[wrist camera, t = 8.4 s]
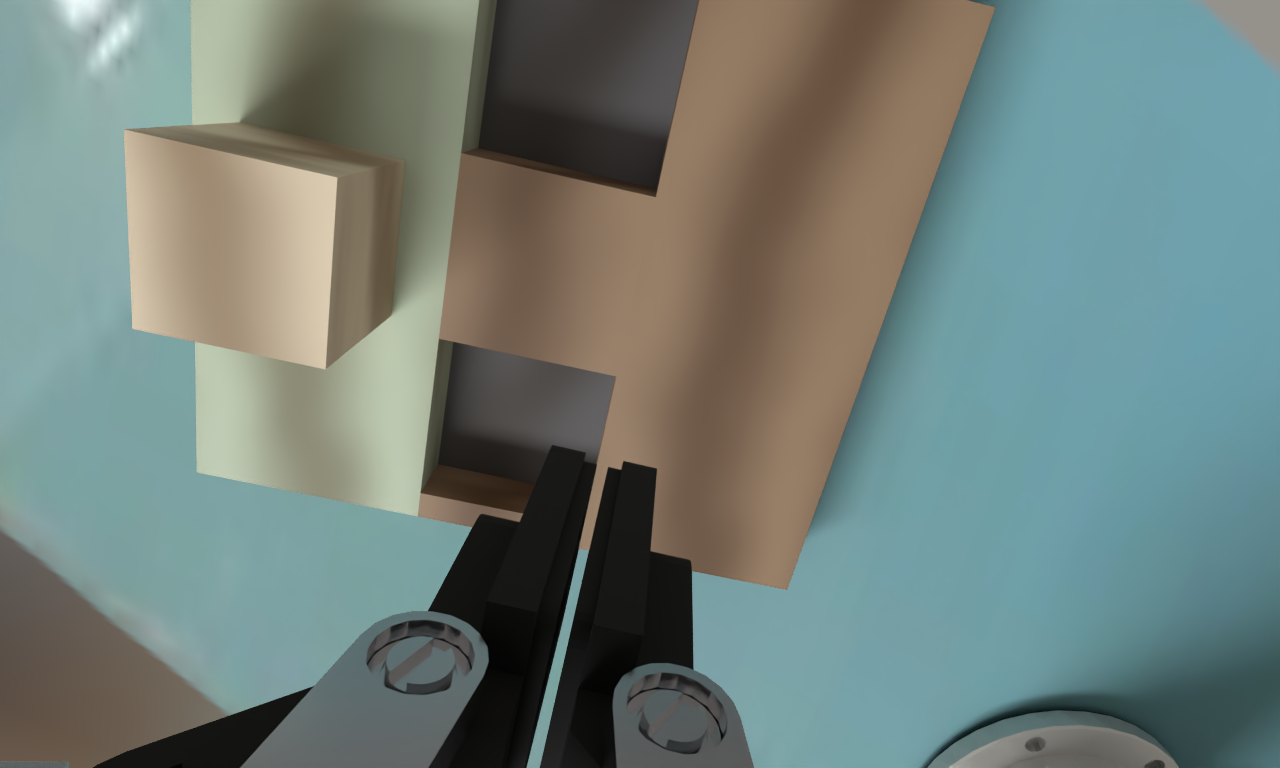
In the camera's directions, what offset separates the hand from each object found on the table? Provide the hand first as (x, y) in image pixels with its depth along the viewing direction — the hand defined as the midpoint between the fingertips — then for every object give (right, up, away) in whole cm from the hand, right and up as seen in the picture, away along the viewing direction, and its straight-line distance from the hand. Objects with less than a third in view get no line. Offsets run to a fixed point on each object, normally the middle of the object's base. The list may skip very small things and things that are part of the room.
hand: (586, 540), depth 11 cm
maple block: (-9, +7, +11) cm, 16 cm away
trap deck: (-2, +7, +14) cm, 16 cm away
